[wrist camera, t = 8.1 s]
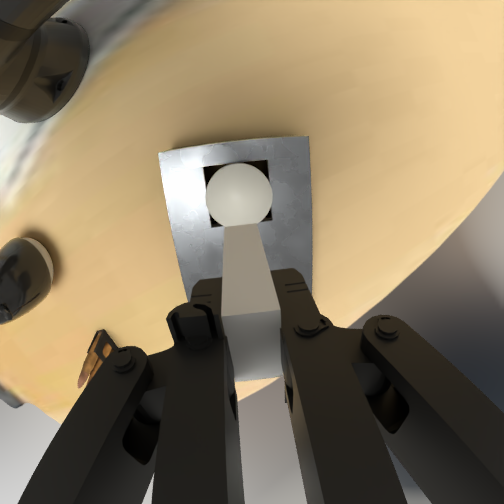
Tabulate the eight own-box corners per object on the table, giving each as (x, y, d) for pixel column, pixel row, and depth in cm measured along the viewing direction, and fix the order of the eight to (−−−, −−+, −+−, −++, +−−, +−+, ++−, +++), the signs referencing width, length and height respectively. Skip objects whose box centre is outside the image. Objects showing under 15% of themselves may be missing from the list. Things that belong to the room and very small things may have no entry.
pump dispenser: (69, 291, 35) (22, 356, 21) (25, 284, 34) (-23, 338, 20) (57, 229, 31) (-10, 283, 17) (12, 227, 30) (-50, 272, 16)
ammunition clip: (137, 371, 43) (122, 425, 32) (129, 373, 43) (114, 425, 32) (104, 329, 39) (78, 383, 28) (96, 330, 39) (70, 384, 28)
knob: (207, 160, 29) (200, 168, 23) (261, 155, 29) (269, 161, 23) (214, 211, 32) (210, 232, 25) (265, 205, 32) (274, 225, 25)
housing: (171, 149, 29) (158, 153, 23) (294, 135, 29) (308, 136, 24) (204, 321, 39) (201, 349, 33) (300, 310, 39) (310, 337, 34)
